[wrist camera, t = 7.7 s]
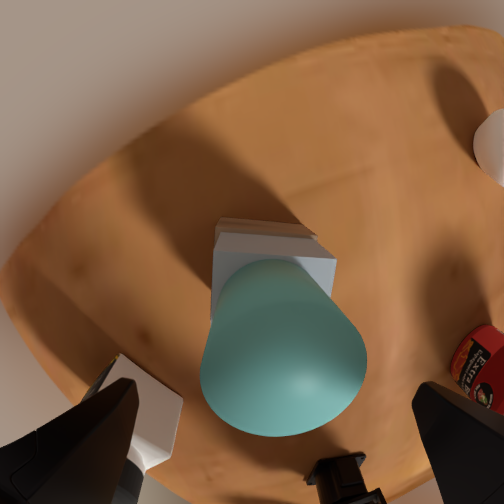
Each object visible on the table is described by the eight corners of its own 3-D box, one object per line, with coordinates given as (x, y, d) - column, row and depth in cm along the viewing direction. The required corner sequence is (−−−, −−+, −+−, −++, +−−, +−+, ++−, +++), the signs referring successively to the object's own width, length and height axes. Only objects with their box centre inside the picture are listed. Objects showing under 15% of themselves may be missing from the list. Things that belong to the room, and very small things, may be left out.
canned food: (456, 333, 22) (521, 391, 12) (500, 314, 22) (559, 357, 12) (441, 387, 24) (488, 447, 14) (484, 366, 24) (531, 413, 14)
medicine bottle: (120, 350, 21) (59, 456, 9) (185, 397, 22) (162, 511, 11) (89, 386, 22) (39, 474, 10) (146, 426, 24) (119, 519, 12)
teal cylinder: (333, 270, 11) (389, 314, 6) (306, 361, 12) (334, 438, 7) (227, 248, 11) (213, 285, 6) (209, 346, 12) (192, 425, 7)
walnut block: (291, 299, 20) (302, 325, 16) (215, 293, 20) (210, 320, 16) (302, 224, 19) (317, 235, 15) (220, 216, 19) (215, 226, 15)
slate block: (301, 321, 16) (316, 360, 13) (216, 317, 16) (210, 356, 12) (313, 239, 15) (336, 259, 11) (220, 232, 15) (213, 250, 11)
